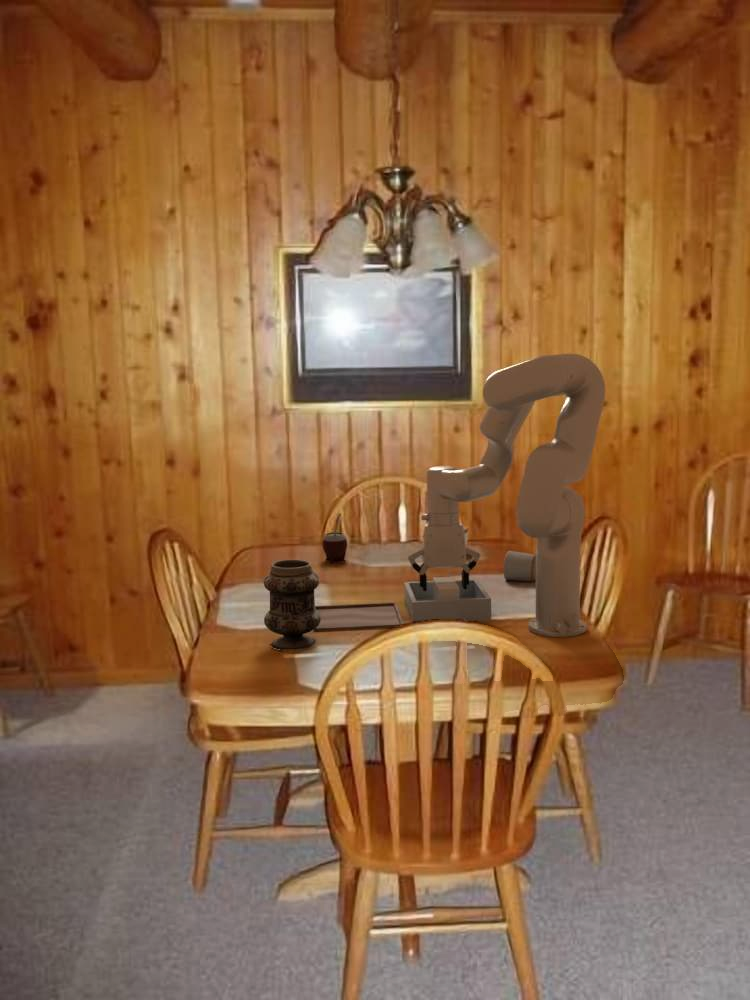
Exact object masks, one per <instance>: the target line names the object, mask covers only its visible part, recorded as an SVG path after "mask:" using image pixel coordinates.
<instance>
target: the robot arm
mask: <svg viewBox="0 0 750 1000" xmlns="http://www.w3.org/2000/svg"><path fill="white" fill-rule="evenodd" d="M604 379H605V378H604V376H603V374H602V372H601V370H600V369H599V367H598V366H597V365H596V364H595V363H594V361H592V360H591V359H590V358H588V357H586V356H584V355H581V354H578V353H559V354H549V355H541V356H538V357H537V356H536V357H534V358H531V359H528V360H525V361H523V362H520V363H517V364H514V365H511V366H508V367H505V368H502V369H500V370H496V371H495V372H493V373H491V374H490V375H489V376H488V377H487V379H486V380H485V381H484V384H483V387H482V397H483V401H484V403H485V404H486V405H487V406H488V408H487V409H486V412H485V414H484V416H483V417H482V419H481V421H480V423H479V431H480V433H481V434H482V435H483V436H484V437H485V439H486V440H487V447H486V450H485V452H484V454H483V456H482V458H481V460H480V461H479V464H477V465H475V466H470V467H467V468H463V469H458V468H456V467H455V466H451V465H439V466H438V465H437V466H432V467H429V468H428V469H427V472H426V502H427V503H426V506H427V508H426V509H427V510H426V512H425V514H421V516H420V519H421V521H425V522H426V523H425V524H424V527H423V535H422V536H423V537H422V547H421V548H420V549H417V550H416V551H414V552H412V553H410V554H409V555H407V560H408V562H409V563H410V566H411V567H412V568H413V569H414V571H416V572H417V573H418V575H419V582H420V587H422V589H423V591H427V581H428V579H427V577H428V576H427V574H426V573H427V571H428V570H429V569H439V568H440V569H441V568H442V569H443V568H459V567H461V568H462V570H461V580H462V587H463V589H467V585H469V579H470V573H471V571H472V570H473V569H474V568H475V567H476V566H477V562H478V561H479V560H480V557H481V553H480V552H478V551H476V550H474V549H472V548H470V547H467V544H466V543H465V533H464V528H463V525H464V524H463V523H462V522H460V503H469V502H473V501H476V500H479V499H484V498H487V497H490V496H492V495H494V494H495V493H496V492H497V491H498V489H500V487H501V485H502V484H503V482H504V481H505V479H506V477H507V475H508V474H509V471H510V469H511V467H512V464H513V460H514V451H515V446H514V445H515V441H516V439H517V437H518V434H519V432H520V431H521V428H522V427H523V425H524V423H525V421H526V419H527V418H528V416H529V414H530V412H531V410H532V409H533V407H534V405H535V403H536V402H537V401H539V400H543V399H547V398H552V397H558V396H559V397H560V396H563V395H564V396H565V402H564V403H563V406H562V407H561V410H560V412H559V414H558V416H557V421H556V426H555V429H554V430H555V431H554V435H553V437H552V440H551V442H546V443H543V444H540V445H539V446H536V448H535V449H533V450H532V452H531V453H530V454H529V456H528V458H527V460H526V463H525V465H524V469H523V475H522V479H521V483H520V489H519V493H518V497H517V502H516V503H517V504H516V508H515V509H516V511H515V516H516V517H515V518H516V522H517V526H518V527H519V529H520V530H521V532H522V533H523V534H524V535H526V536H528V537H529V538H532V539H537V540H536V547H535V555H536V580H535V618H532V619H531V620H529V622H528V629H529V630H530V631H531V632H533V633H535V634H537V635H540V636H546V637H552V638H553V637H555V638H556V637H557V638H564V637H565V638H566V637H568V636H569V637H574V636H575V635H576V636H579V635H582V634H583V633H585V632H586V631H587V628H588V627H587V623H586V622H585V621H584V620H582V619H580V617H581V616H580V611H581V610H580V609H581V608H580V601H581V598H580V597H581V593H580V592H581V591H580V590H581V550H582V549H581V547H582V546H581V545H582V535H583V528H584V521H585V514H586V511H585V510H586V509H585V504H584V501H583V500H584V499H582V497H581V495H580V494H579V492H577V491H576V490H575V489H573V488H571V487H569V485H572V484H573V485H574V484H576V483H578V482H580V481H582V480H583V479H584V478H585V477H586V475H587V474H588V472H589V469H590V464H591V460H592V457H593V451H594V447H595V442H596V439H597V433H598V430H599V429H598V428H599V424H600V419H601V417H602V412H603V408H604V405H605V400H606V384H605V383H606V382H605V380H604ZM467 555H469V556H472V559H470V561H469V562H468V563H467ZM419 557H422V564H420V565H419V564H418V563H417V562H416V559H418V558H419Z"/></svg>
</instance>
